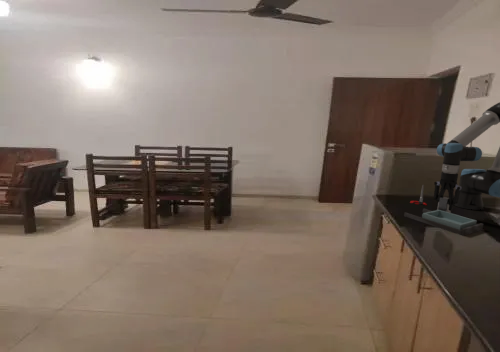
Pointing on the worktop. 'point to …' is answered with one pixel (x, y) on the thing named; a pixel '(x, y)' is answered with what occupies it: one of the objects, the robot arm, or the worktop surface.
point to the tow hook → (420, 198)
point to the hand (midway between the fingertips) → (443, 214)
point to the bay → (448, 228)
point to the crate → (449, 219)
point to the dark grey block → (443, 203)
